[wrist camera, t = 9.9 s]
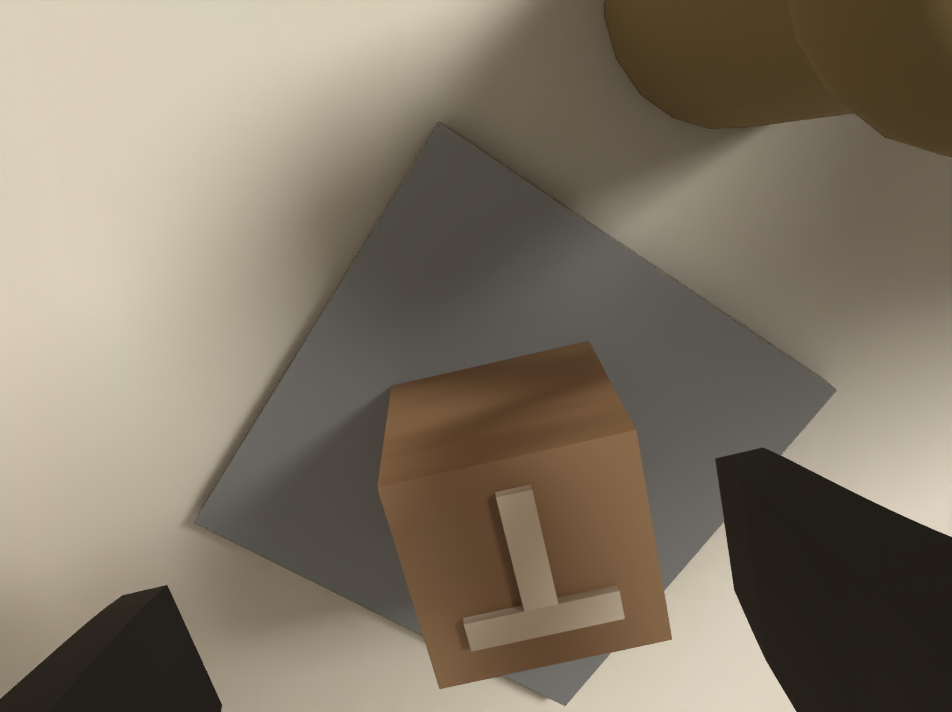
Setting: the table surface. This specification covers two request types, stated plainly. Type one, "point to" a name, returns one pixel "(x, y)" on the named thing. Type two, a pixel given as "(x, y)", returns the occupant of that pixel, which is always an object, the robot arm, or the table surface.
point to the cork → (793, 62)
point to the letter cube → (521, 515)
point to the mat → (486, 341)
